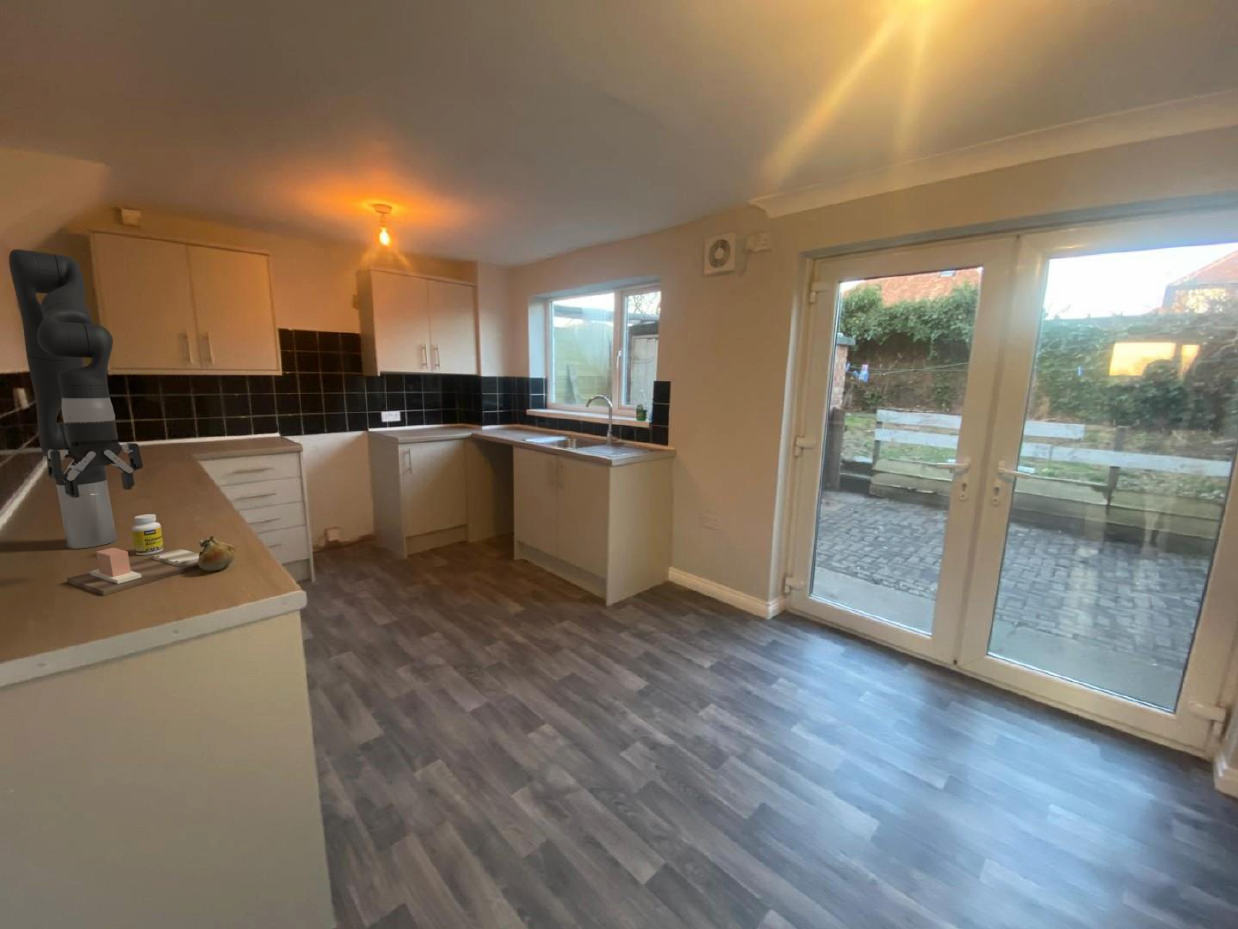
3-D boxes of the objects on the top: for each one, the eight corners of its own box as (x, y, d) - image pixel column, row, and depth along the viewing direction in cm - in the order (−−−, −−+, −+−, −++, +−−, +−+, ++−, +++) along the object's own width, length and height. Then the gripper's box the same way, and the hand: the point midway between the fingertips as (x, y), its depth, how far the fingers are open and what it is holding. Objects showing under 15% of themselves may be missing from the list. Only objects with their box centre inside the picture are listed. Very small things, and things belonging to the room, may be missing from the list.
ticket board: (67, 582, 109) (66, 574, 109) (176, 554, 128) (175, 547, 127) (104, 595, 103) (102, 587, 103) (213, 564, 121) (212, 556, 121)
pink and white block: (90, 574, 111) (86, 550, 110) (113, 568, 115) (110, 545, 114) (117, 583, 107) (113, 558, 106) (141, 577, 110) (137, 552, 109)
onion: (192, 578, 113) (187, 544, 112) (203, 566, 120) (199, 534, 119) (233, 573, 116) (228, 540, 115) (241, 561, 123) (238, 531, 122)
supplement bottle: (146, 556, 126) (140, 519, 124) (130, 554, 127) (124, 518, 125) (169, 549, 131) (164, 514, 129) (153, 548, 132) (148, 512, 130)
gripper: (124, 416, 113) (134, 485, 116) (32, 420, 100) (47, 498, 103) (141, 417, 110) (152, 488, 113) (49, 422, 97) (64, 502, 100)
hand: (102, 493), depth 108 cm, fingers open, 8 cm apart
